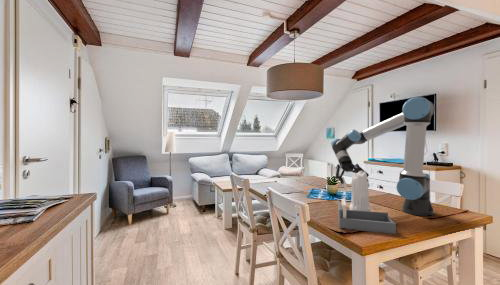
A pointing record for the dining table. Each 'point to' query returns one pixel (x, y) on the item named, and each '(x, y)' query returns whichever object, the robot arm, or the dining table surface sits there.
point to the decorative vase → (359, 192)
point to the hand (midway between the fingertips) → (357, 187)
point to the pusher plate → (343, 208)
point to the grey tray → (366, 221)
